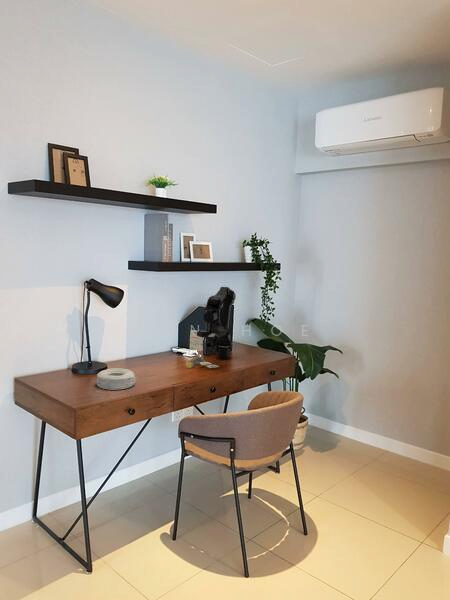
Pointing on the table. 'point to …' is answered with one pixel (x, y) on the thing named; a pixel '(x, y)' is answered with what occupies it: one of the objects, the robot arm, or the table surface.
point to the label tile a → (205, 363)
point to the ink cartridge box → (196, 342)
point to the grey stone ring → (115, 379)
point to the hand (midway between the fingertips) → (213, 348)
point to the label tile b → (212, 366)
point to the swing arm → (195, 361)
